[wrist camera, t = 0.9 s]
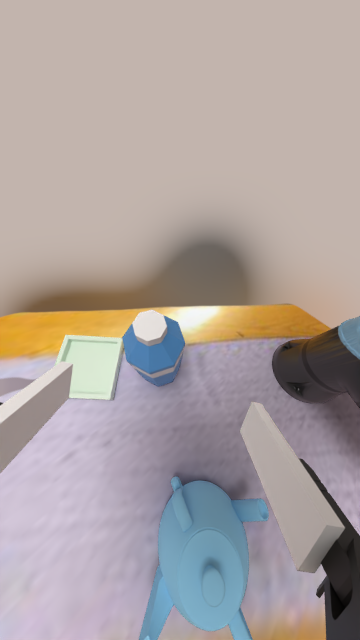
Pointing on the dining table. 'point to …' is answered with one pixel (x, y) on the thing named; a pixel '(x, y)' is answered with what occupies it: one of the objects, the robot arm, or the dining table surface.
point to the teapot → (202, 559)
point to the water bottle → (154, 347)
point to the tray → (92, 365)
